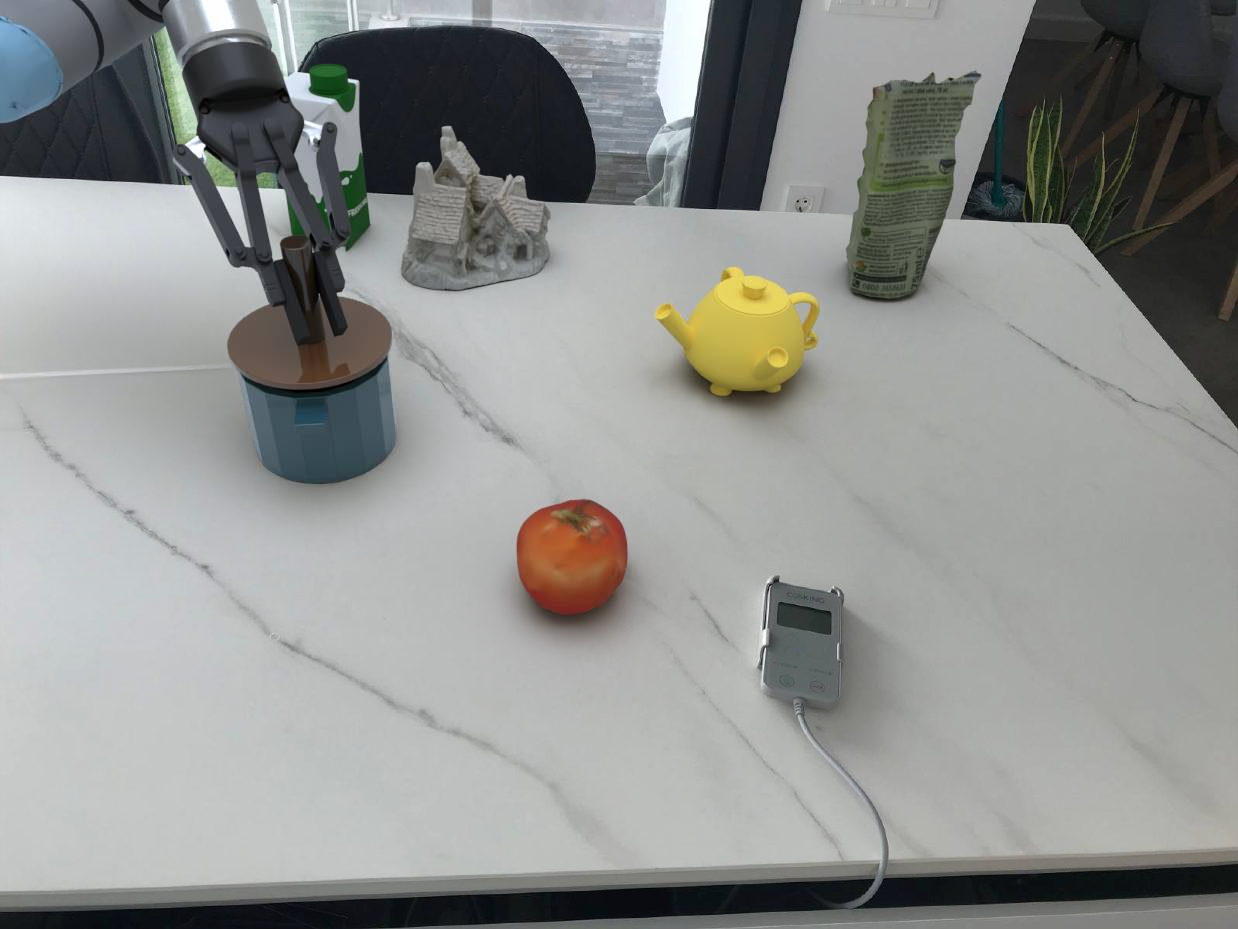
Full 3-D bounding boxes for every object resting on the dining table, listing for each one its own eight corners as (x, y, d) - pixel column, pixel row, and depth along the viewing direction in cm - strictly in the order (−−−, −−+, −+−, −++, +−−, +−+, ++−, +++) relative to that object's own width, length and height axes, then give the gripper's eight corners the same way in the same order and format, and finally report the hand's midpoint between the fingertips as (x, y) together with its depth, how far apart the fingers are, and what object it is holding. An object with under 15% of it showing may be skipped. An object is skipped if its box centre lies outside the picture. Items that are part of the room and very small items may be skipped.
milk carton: (352, 255, 117) (331, 86, 103) (280, 243, 118) (251, 74, 104) (380, 222, 123) (364, 60, 110) (312, 211, 124) (288, 49, 111)
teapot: (643, 379, 102) (654, 286, 94) (707, 323, 111) (721, 234, 103) (767, 434, 96) (788, 339, 89) (823, 370, 105) (846, 280, 98)
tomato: (544, 647, 74) (546, 576, 69) (496, 567, 80) (495, 495, 75) (649, 607, 78) (659, 537, 73) (596, 533, 84) (601, 463, 79)
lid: (220, 400, 78) (192, 289, 72) (238, 309, 88) (215, 204, 82) (394, 391, 81) (382, 283, 74) (392, 303, 91) (382, 201, 84)
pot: (246, 509, 83) (225, 422, 77) (265, 384, 97) (247, 301, 90) (397, 498, 86) (388, 413, 79) (395, 378, 99) (387, 296, 93)
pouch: (822, 288, 118) (872, 80, 102) (844, 246, 127) (893, 47, 111) (914, 312, 116) (979, 102, 99) (929, 268, 124) (993, 67, 108)
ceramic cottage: (381, 273, 113) (379, 149, 104) (452, 221, 126) (456, 105, 116) (501, 316, 110) (510, 191, 101) (562, 258, 122) (575, 142, 113)
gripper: (315, 71, 86) (402, 325, 86) (127, 94, 79) (223, 370, 80) (328, 26, 79) (422, 302, 80) (123, 48, 73) (228, 349, 73)
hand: (322, 335), depth 80 cm, fingers closed on lid, 2 cm apart
